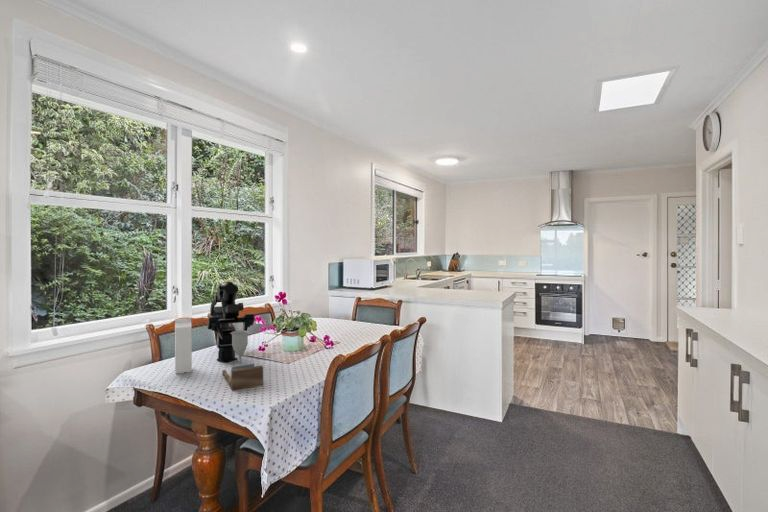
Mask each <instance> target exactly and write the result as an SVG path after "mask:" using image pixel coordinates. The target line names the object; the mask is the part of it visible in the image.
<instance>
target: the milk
mask: <svg viewBox="0 0 768 512" xmlns="http://www.w3.org/2000/svg"><path fill="white" fill-rule="evenodd" d="M174 322H175V323H174V373H175V374H176V373H178V374H183V373H184V372H186V373H191V372H192V371H193V369H192V367H193V363H192V359H193V357H192V356H193V355H192V347H193V346H192V344H193V343H192V342H193V341H192V339H193V338H192V337H193V336H192V334H193V333H192V329H193V328H192V317H184V318H175V320H174Z"/></svg>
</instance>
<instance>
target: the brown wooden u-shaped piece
mask: <svg viewBox="0 0 768 512" xmlns="http://www.w3.org/2000/svg"><path fill="white" fill-rule="evenodd" d="M230 372H231V373H230V374H229V373H228V372H227V370H226V369H222V373H221V374H222V376H223V378H224V380H225V381H226V383H227V385H228V386H229V387H230V389H231V391H237V390H243V389H249V388H255V387H256V388H257V387H261V386H263V385H264V365H256V366H255V365H254V367H248V368H241V369H234V370H230Z"/></svg>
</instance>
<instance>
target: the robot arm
mask: <svg viewBox="0 0 768 512" xmlns="http://www.w3.org/2000/svg"><path fill="white" fill-rule="evenodd" d="M216 289H217V290H216V294H215V295H214V300H213V301H212V302H211V303H210V309H209V310H210V312H209V317H208V318H207V326H206V327H207V330H211V331H214V332H215V333H216V335H217V337H216V348H217V349H218V352H217V353H218V356H217V357H218V358H217V359H216V361H218V362H223V363H228V362H231V361H235V360H238V357H236V353H235V351H234V349H233V346H232V334H231V332H233V331H237V330H236V329H235V326H234V325H230V324H239V323H242V325H243V326H242V329H243V330H244V331H248V328H250V327H251V326H253V325H254V322H255V314H254V313H246V314H244V315H243V317H239V316H240V312H242V311H243V310H244V303H243V302H239V303H236V300H237V296H238V293H239V286H238V285H236V284H233V282H231V281H229V282H227V284H219V285H218V287H217V288H216ZM218 303H221V306H216V305H217V304H218Z"/></svg>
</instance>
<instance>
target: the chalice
mask: <svg viewBox="0 0 768 512" xmlns="http://www.w3.org/2000/svg"><path fill="white" fill-rule="evenodd" d="M249 333H250V332H249V331H248V330H247V331H244V330H236V331H233V332H231V334H232V346H233V349H234V351H235V356H238V358H237V362H238V364H237V366H239V365H243V364H242V361H243V360H242V356H244V354H245V351H246V350H247V347H248V343H249V338H248V337H249V336H248V335H249Z"/></svg>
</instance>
